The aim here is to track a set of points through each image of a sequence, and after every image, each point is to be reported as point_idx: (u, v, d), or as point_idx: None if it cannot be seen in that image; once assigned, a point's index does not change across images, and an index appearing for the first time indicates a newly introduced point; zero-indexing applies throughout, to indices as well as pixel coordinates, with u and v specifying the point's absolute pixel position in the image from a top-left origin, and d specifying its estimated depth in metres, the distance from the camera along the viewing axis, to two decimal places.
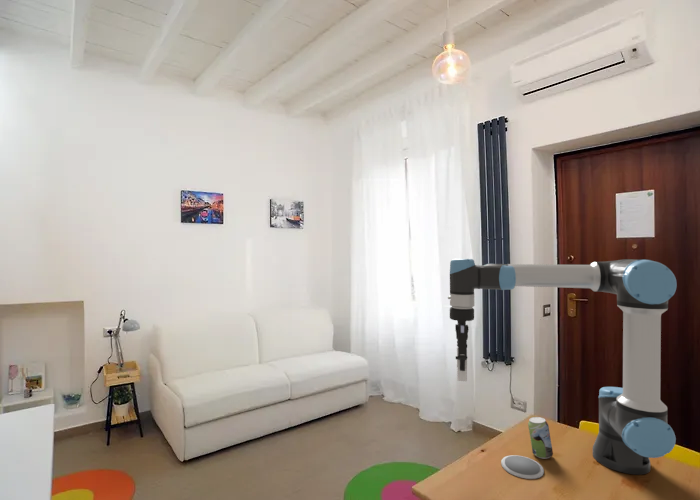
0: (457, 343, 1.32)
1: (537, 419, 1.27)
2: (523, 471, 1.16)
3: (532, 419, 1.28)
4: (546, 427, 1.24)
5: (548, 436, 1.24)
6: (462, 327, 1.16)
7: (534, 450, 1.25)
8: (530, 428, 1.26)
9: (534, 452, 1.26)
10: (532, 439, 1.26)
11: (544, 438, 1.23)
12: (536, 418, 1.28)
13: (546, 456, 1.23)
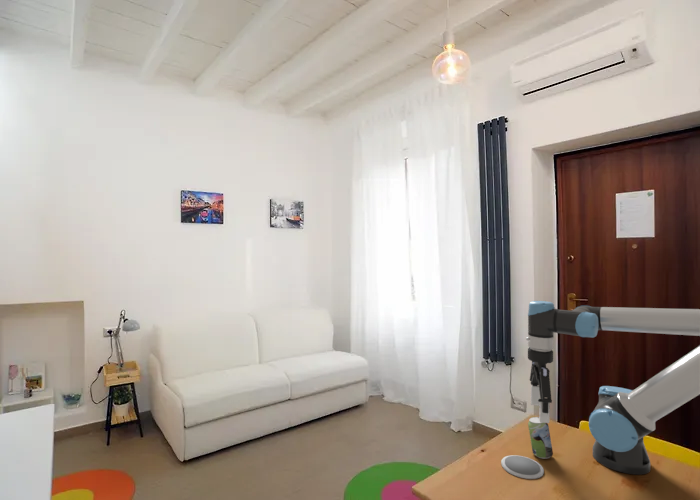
0: None
1: (537, 419, 1.27)
2: (523, 471, 1.16)
3: (532, 419, 1.28)
4: (546, 427, 1.24)
5: (548, 436, 1.24)
6: (545, 370, 1.20)
7: (534, 450, 1.25)
8: (530, 428, 1.26)
9: (534, 452, 1.26)
10: (532, 439, 1.26)
11: (544, 438, 1.23)
12: (536, 418, 1.28)
13: (546, 456, 1.23)
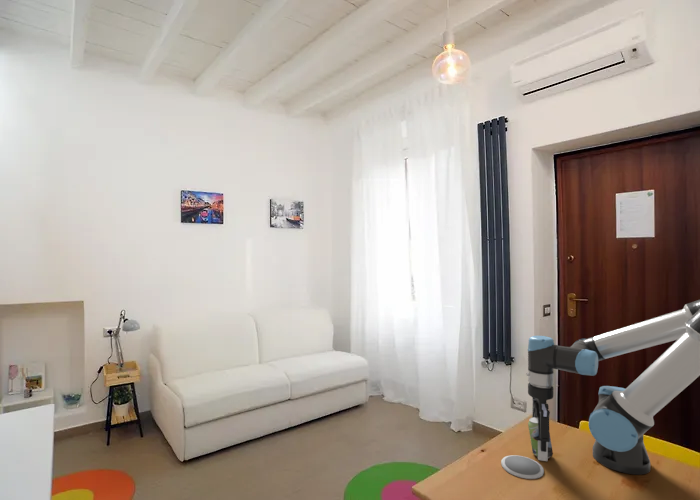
0: None
1: (537, 419, 1.27)
2: (523, 471, 1.16)
3: (532, 419, 1.28)
4: None
5: None
6: (545, 412, 1.20)
7: (534, 450, 1.25)
8: (530, 428, 1.26)
9: (534, 452, 1.26)
10: (532, 439, 1.26)
11: None
12: (536, 418, 1.28)
13: None
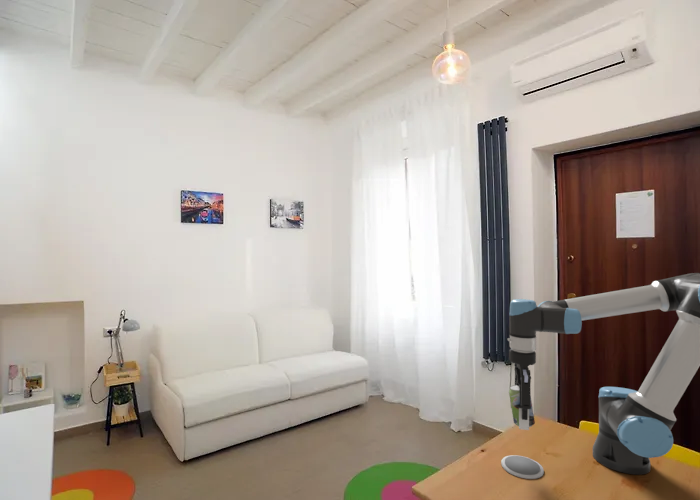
0: None
1: (518, 387, 1.20)
2: (523, 471, 1.16)
3: (513, 387, 1.21)
4: None
5: None
6: (526, 377, 1.13)
7: (515, 419, 1.19)
8: (511, 396, 1.19)
9: (515, 421, 1.19)
10: (513, 408, 1.19)
11: None
12: (518, 385, 1.21)
13: None
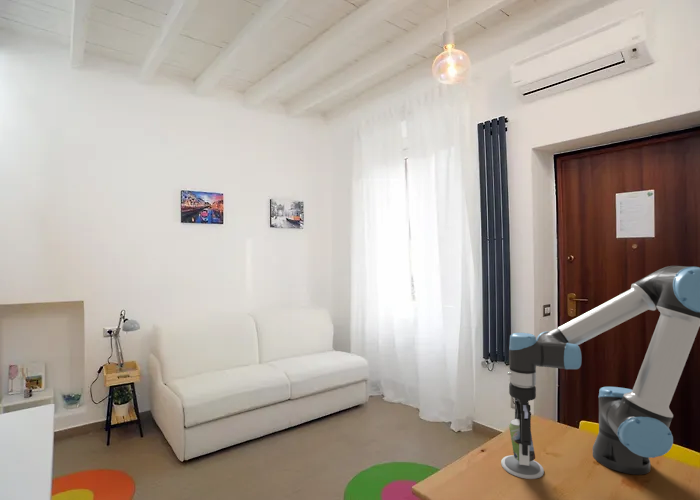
0: None
1: None
2: (523, 471, 1.16)
3: (513, 421, 1.21)
4: None
5: None
6: (526, 414, 1.13)
7: (515, 454, 1.19)
8: (511, 431, 1.19)
9: (515, 456, 1.19)
10: (513, 442, 1.19)
11: None
12: (518, 419, 1.21)
13: None
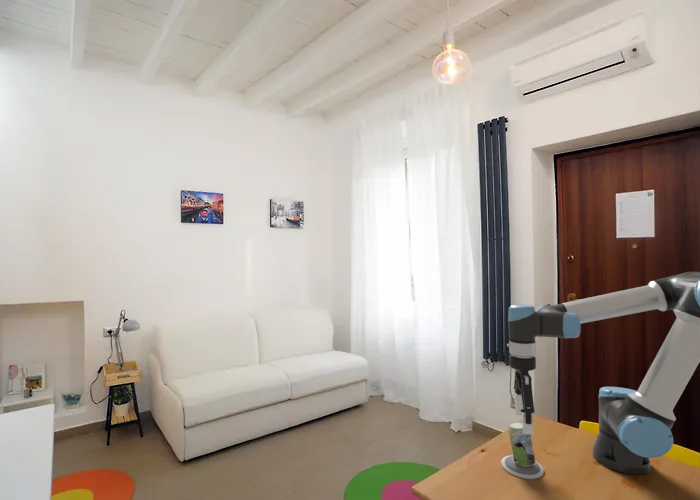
0: None
1: (518, 425, 1.21)
2: (523, 471, 1.16)
3: (513, 425, 1.21)
4: None
5: (529, 442, 1.18)
6: (526, 378, 1.13)
7: (515, 458, 1.19)
8: (511, 434, 1.20)
9: (515, 460, 1.19)
10: (513, 446, 1.19)
11: (525, 444, 1.17)
12: (517, 423, 1.22)
13: (528, 464, 1.17)
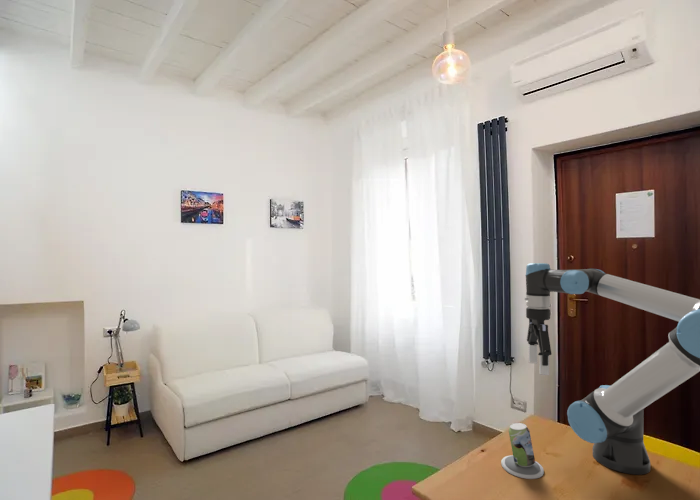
0: (527, 341, 1.43)
1: (518, 425, 1.20)
2: (523, 471, 1.16)
3: (513, 425, 1.21)
4: (527, 434, 1.17)
5: (529, 443, 1.17)
6: (544, 325, 1.28)
7: (515, 458, 1.19)
8: (511, 435, 1.19)
9: (515, 461, 1.19)
10: (513, 447, 1.19)
11: (525, 445, 1.17)
12: (517, 424, 1.22)
13: (528, 464, 1.16)
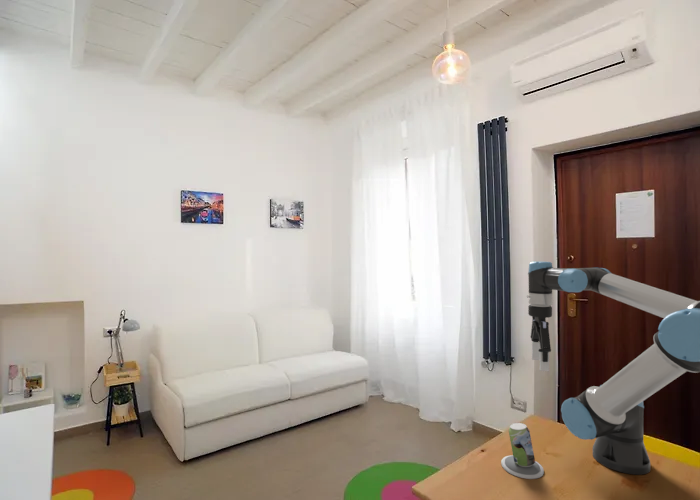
0: None
1: (518, 425, 1.20)
2: (523, 471, 1.16)
3: (513, 425, 1.21)
4: (527, 434, 1.17)
5: (529, 443, 1.17)
6: (544, 323, 1.30)
7: (515, 458, 1.19)
8: (511, 435, 1.19)
9: (515, 460, 1.19)
10: (513, 447, 1.19)
11: (525, 445, 1.17)
12: (517, 424, 1.22)
13: (528, 464, 1.16)
